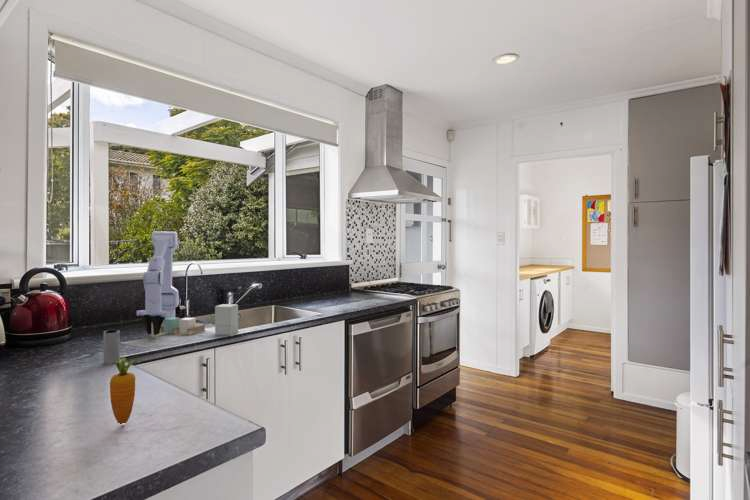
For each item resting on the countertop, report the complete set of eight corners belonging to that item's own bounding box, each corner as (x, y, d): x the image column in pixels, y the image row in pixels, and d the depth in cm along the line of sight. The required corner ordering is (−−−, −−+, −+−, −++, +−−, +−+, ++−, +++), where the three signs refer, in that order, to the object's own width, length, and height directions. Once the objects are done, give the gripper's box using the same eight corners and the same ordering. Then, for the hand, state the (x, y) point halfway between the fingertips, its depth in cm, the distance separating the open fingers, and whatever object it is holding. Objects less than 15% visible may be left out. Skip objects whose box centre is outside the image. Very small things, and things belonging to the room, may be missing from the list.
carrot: (116, 421, 93) (116, 354, 93) (140, 421, 93) (140, 354, 93) (104, 431, 88) (104, 360, 88) (129, 431, 88) (129, 360, 88)
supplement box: (238, 332, 183) (238, 304, 183) (231, 336, 176) (231, 306, 175) (222, 332, 184) (222, 303, 183) (214, 336, 176) (214, 306, 176)
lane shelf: (158, 334, 178) (158, 326, 178) (175, 329, 188) (175, 322, 188) (189, 336, 174) (189, 328, 174) (204, 331, 184) (204, 324, 184)
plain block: (179, 333, 178) (179, 319, 178) (186, 331, 182) (186, 317, 182) (188, 334, 177) (188, 320, 176) (195, 332, 181) (195, 318, 181)
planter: (123, 361, 138) (123, 330, 138) (110, 365, 134) (110, 333, 134) (113, 360, 140) (112, 329, 140) (100, 363, 136) (100, 332, 135)
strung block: (147, 337, 170) (147, 322, 170) (170, 330, 182) (170, 317, 182) (157, 338, 169) (157, 323, 169) (179, 331, 181) (179, 317, 181)
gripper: (130, 300, 167) (130, 334, 168) (161, 302, 164) (161, 337, 164) (144, 298, 174) (144, 331, 175) (174, 300, 171) (173, 333, 171)
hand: (153, 334), depth 170 cm, fingers closed on strung block, 2 cm apart
